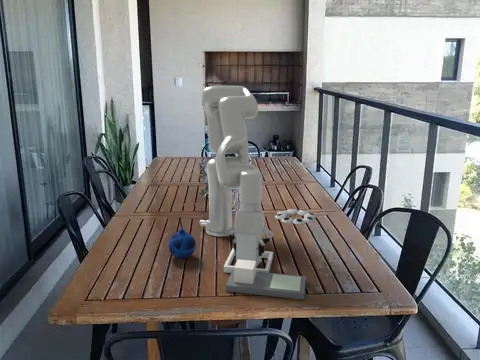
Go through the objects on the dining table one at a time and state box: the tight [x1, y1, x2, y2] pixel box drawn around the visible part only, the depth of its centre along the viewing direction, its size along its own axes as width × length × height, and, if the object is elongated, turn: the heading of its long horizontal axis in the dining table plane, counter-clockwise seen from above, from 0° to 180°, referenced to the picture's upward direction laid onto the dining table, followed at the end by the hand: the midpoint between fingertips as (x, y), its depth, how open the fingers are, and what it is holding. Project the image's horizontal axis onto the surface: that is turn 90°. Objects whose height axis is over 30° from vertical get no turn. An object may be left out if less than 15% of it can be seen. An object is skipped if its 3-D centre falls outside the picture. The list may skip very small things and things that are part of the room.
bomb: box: [167, 216, 197, 260], centre depth 153 cm, size 10×11×15 cm
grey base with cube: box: [225, 259, 307, 300], centre depth 134 cm, size 24×11×7 cm, turn 79°
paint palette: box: [274, 208, 317, 225], centre depth 197 cm, size 20×20×2 cm
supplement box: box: [235, 233, 262, 268], centre depth 148 cm, size 7×7×13 cm
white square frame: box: [223, 247, 274, 274], centre depth 149 cm, size 15×15×2 cm
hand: (249, 253), depth 148 cm, fingers closed on supplement box, 8 cm apart
